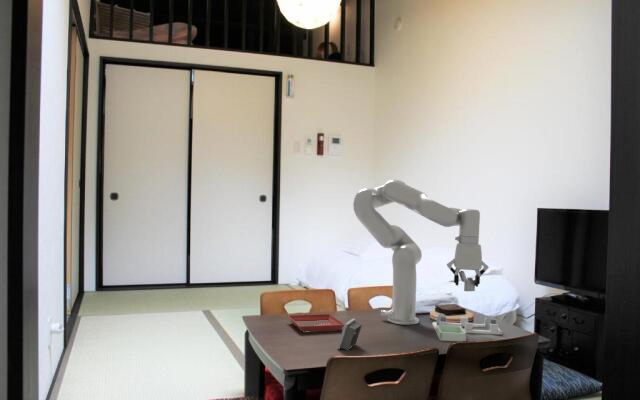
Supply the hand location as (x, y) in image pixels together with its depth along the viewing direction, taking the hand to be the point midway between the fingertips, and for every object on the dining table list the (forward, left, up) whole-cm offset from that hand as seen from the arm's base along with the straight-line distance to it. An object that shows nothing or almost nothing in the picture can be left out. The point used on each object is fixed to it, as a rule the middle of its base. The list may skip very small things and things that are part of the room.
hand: (466, 285), depth 211 cm
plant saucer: (-59, -8, -18) cm, 62 cm away
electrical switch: (-45, -33, -18) cm, 58 cm away
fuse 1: (-9, 0, -17) cm, 20 cm away
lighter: (0, 0, -3) cm, 3 cm away
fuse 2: (+10, 0, -17) cm, 20 cm away
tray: (-8, -13, -17) cm, 23 cm away
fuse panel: (0, 0, -17) cm, 17 cm away
